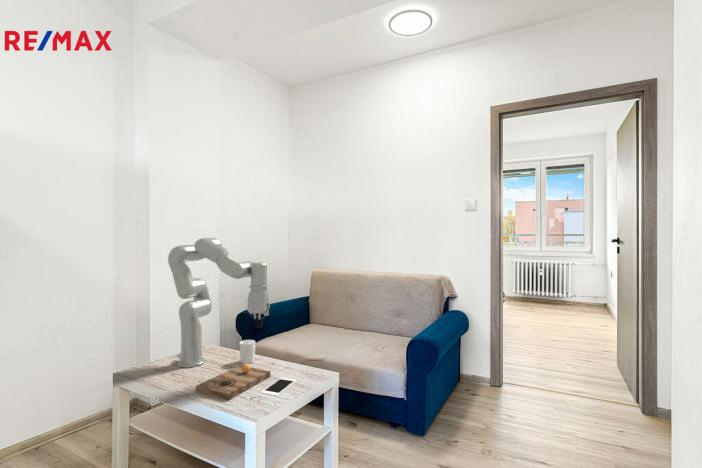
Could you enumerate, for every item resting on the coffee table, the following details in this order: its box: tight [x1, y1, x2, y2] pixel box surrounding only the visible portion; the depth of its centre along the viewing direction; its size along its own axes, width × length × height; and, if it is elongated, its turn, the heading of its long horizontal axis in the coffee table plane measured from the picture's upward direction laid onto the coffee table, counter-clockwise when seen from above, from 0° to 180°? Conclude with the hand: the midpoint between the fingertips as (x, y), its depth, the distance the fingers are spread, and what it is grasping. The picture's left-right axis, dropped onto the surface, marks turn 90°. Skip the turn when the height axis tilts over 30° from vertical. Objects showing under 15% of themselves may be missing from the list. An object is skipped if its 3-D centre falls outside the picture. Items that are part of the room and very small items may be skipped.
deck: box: [195, 364, 271, 401], centre depth 156 cm, size 26×18×2 cm
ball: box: [241, 363, 251, 373], centre depth 163 cm, size 4×4×4 cm
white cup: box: [239, 339, 256, 365], centre depth 184 cm, size 8×8×10 cm
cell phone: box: [260, 377, 297, 397], centre depth 154 cm, size 8×16×1 cm, turn 160°
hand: (259, 326), depth 171 cm, fingers closed
